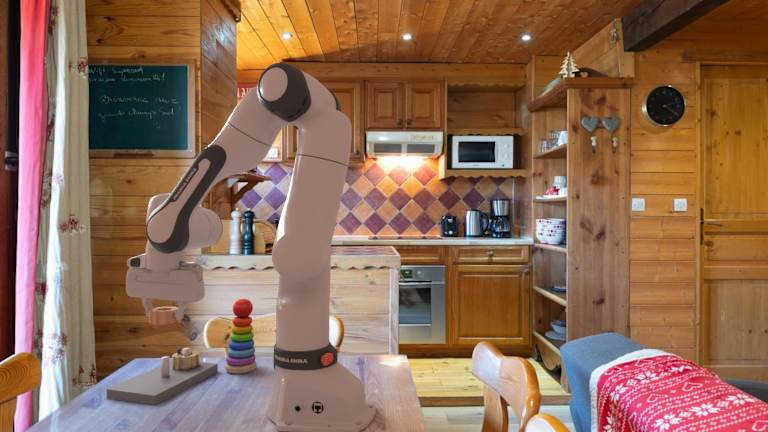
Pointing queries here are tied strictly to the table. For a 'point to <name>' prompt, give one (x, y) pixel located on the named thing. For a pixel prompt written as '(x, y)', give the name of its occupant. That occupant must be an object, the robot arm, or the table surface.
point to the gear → (185, 360)
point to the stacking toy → (241, 340)
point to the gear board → (160, 382)
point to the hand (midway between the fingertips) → (164, 317)
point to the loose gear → (162, 315)
